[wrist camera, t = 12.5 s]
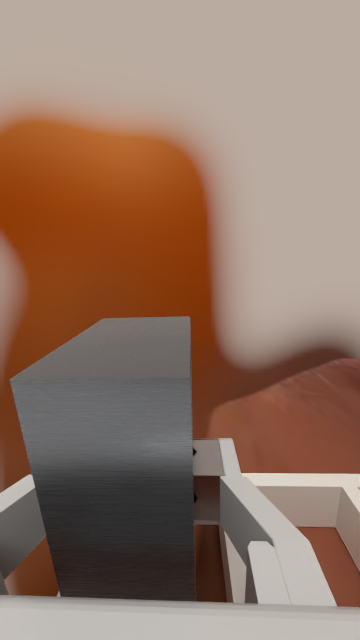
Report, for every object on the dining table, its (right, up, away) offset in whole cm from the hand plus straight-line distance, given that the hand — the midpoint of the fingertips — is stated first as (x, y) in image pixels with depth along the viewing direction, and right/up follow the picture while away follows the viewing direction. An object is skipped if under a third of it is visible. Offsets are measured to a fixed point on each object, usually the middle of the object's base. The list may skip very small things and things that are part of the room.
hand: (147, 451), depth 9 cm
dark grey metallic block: (0, -6, +1) cm, 6 cm away
